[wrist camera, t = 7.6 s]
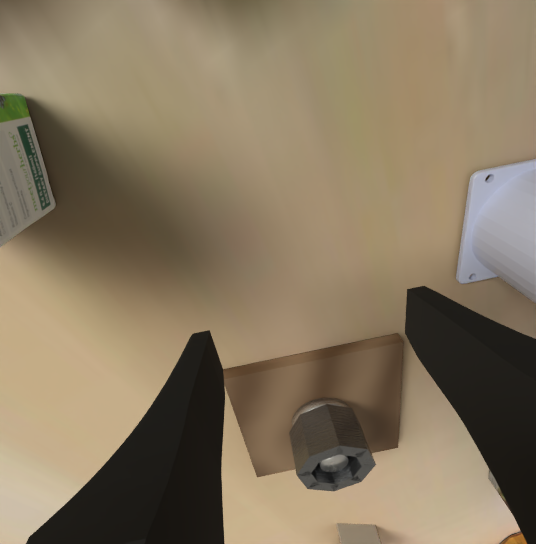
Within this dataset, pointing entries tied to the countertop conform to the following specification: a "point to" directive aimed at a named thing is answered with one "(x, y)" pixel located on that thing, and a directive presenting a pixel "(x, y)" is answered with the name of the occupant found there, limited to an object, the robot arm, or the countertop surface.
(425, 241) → the countertop surface
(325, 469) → the piston post
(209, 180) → the countertop surface
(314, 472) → the ring
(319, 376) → the board
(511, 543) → the pancake mix bag
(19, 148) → the syrup box
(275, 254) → the countertop surface
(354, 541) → the architectural model
